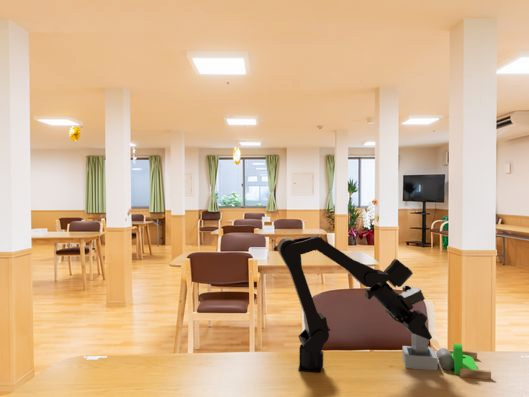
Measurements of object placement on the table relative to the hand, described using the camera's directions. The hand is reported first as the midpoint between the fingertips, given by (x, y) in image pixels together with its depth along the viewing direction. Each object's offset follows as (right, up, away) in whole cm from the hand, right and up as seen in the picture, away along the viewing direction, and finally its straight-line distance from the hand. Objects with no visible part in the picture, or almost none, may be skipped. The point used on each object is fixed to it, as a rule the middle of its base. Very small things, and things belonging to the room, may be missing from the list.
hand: (423, 333), depth 136 cm
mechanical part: (+11, -10, -3) cm, 15 cm away
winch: (+1, -9, 0) cm, 9 cm away
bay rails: (+12, -9, -3) cm, 16 cm away
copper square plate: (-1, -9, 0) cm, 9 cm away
